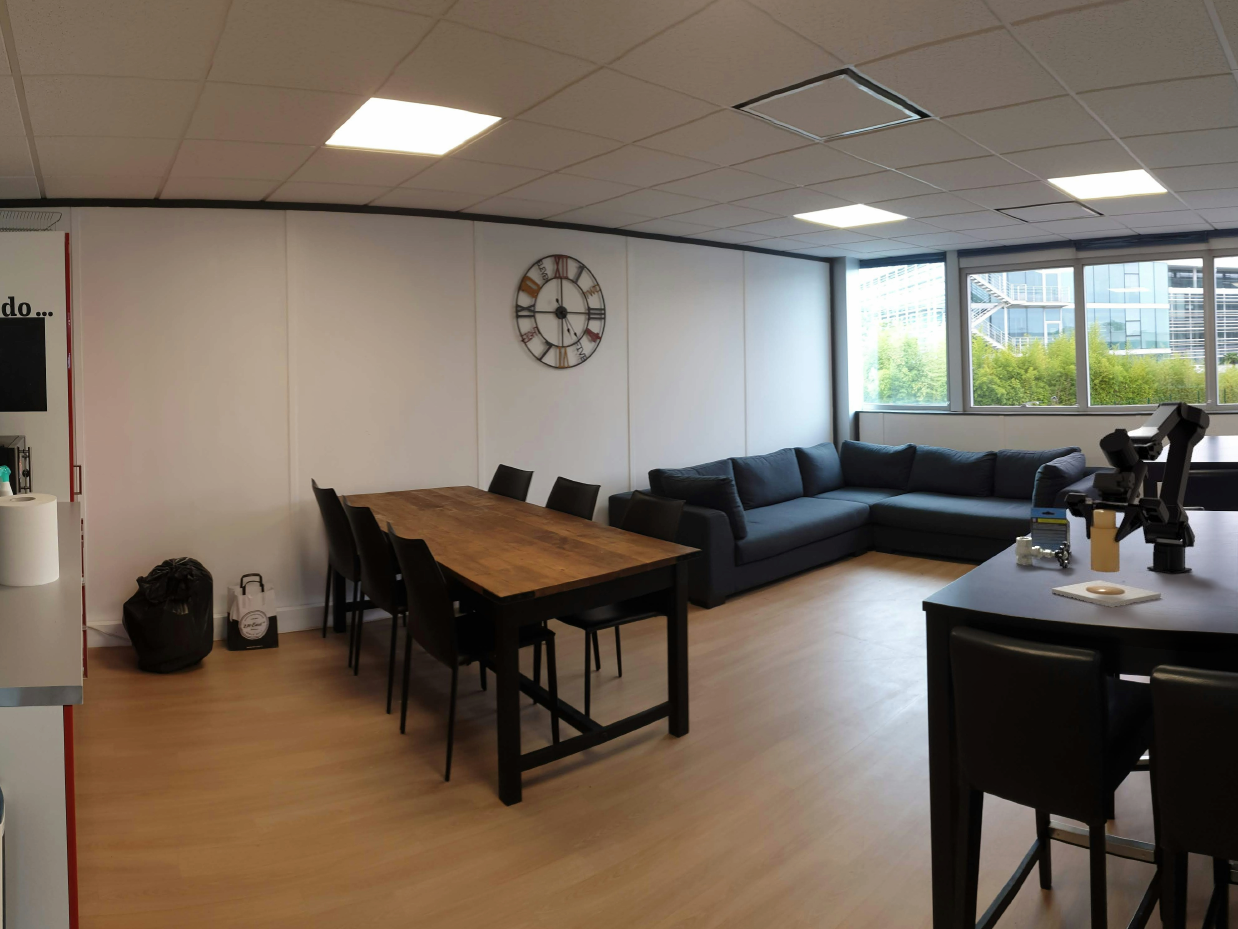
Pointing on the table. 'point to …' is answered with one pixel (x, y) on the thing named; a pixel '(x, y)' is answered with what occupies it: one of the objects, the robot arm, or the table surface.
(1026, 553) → the valve
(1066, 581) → the table surface
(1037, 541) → the label tape cartridge
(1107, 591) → the plate
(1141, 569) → the table surface
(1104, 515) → the stepped tan cylinder
